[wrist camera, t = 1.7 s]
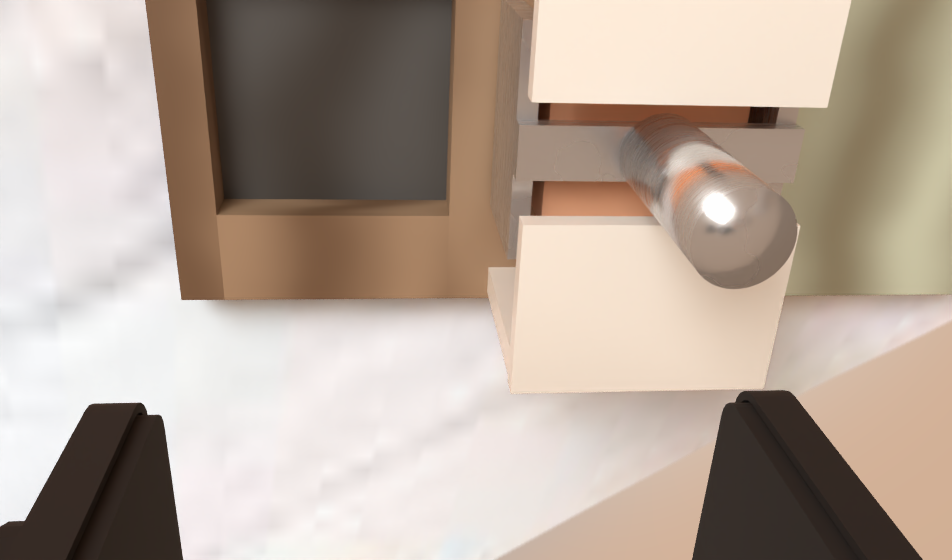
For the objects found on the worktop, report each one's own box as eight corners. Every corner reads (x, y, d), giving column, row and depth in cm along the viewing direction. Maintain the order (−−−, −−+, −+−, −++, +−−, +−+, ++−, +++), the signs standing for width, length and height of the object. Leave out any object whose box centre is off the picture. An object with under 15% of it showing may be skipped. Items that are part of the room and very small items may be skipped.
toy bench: (767, -122, 26) (878, -120, 20) (694, 295, 32) (763, 388, 26) (510, -135, 25) (548, -137, 19) (486, 296, 31) (511, 393, 26)
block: (712, 25, 28) (761, 49, 24) (686, 184, 30) (728, 226, 27) (532, 20, 27) (555, 43, 24) (521, 182, 30) (540, 226, 26)
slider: (752, 4, 27) (966, 82, 17) (716, 207, 30) (881, 373, 20) (501, -4, 26) (574, 74, 16) (490, 205, 29) (545, 379, 19)
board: (1050, -110, 29) (1094, -108, 27) (933, 272, 35) (962, 294, 33) (144, -154, 26) (126, -156, 24) (192, 275, 32) (181, 299, 30)
